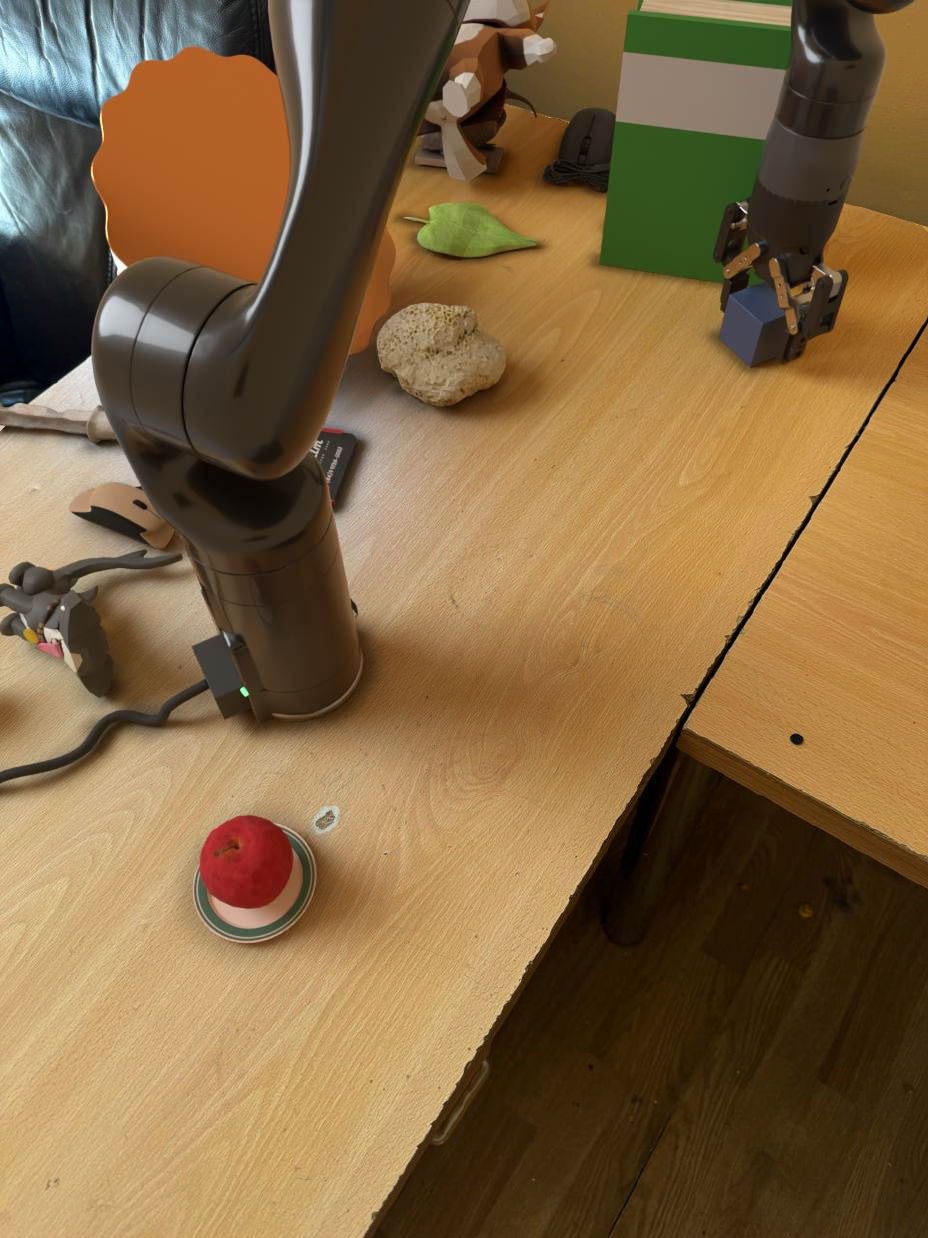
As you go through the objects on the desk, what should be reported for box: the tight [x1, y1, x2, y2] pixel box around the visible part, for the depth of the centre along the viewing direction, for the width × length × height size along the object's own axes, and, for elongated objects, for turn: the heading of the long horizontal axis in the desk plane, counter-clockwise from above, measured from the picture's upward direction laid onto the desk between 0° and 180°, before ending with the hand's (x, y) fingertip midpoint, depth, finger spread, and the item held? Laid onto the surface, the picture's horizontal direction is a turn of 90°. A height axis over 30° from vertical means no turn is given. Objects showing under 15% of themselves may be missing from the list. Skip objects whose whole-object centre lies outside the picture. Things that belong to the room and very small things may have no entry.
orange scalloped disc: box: [90, 45, 397, 356], centre depth 88 cm, size 28×28×18 cm
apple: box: [192, 814, 318, 944], centre depth 59 cm, size 8×8×6 cm
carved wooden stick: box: [0, 400, 118, 445], centre depth 84 cm, size 25×4×3 cm, turn 79°
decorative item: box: [376, 302, 507, 407], centre depth 86 cm, size 12×9×10 cm
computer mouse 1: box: [68, 481, 176, 550], centre depth 78 cm, size 6×10×4 cm, turn 64°
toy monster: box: [0, 549, 184, 699], centre depth 70 cm, size 14×18×10 cm
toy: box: [417, 0, 558, 183], centre depth 105 cm, size 24×18×30 cm
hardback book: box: [599, 0, 792, 288], centre depth 90 cm, size 18×7×24 cm, turn 74°
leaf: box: [403, 202, 539, 259], centre depth 101 cm, size 9×16×2 cm, turn 66°
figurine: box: [414, 87, 538, 174], centre depth 107 cm, size 14×4×9 cm, turn 76°
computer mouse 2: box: [541, 107, 616, 193], centre depth 110 cm, size 10×15×4 cm
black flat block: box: [310, 427, 358, 509], centre depth 82 cm, size 10×1×5 cm
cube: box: [718, 281, 804, 368], centre depth 89 cm, size 5×5×5 cm
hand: (757, 334), depth 90 cm, fingers open, 8 cm apart
